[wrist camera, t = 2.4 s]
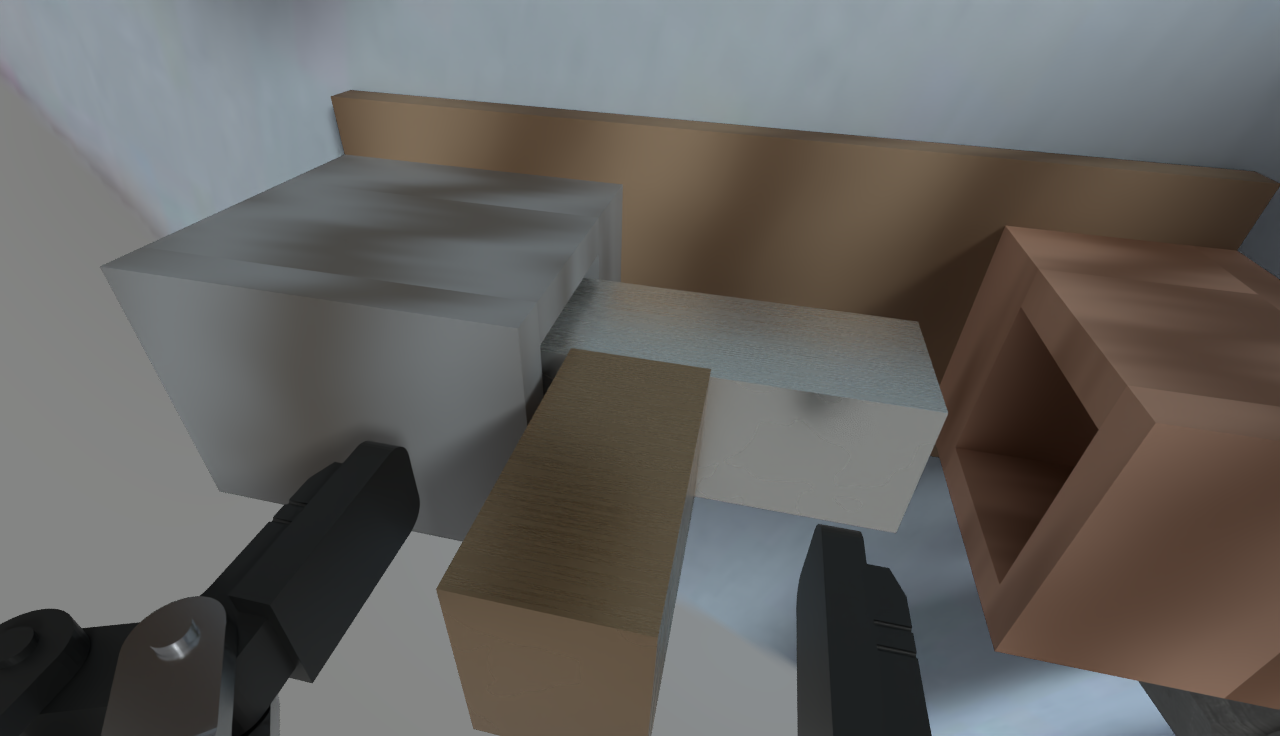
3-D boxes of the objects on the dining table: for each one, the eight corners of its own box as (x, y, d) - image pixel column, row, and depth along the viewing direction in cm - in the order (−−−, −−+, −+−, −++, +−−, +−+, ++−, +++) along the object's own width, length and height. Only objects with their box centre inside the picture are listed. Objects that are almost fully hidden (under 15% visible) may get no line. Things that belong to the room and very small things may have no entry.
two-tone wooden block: (920, 314, 15) (1062, 726, 7) (876, 437, 17) (945, 849, 9) (304, 233, 17) (-102, 470, 9) (340, 351, 19) (38, 617, 12)
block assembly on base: (1254, 171, 15) (1710, 391, 8) (1072, 460, 21) (1228, 746, 13) (350, 90, 19) (55, 183, 11) (409, 355, 24) (241, 532, 17)
